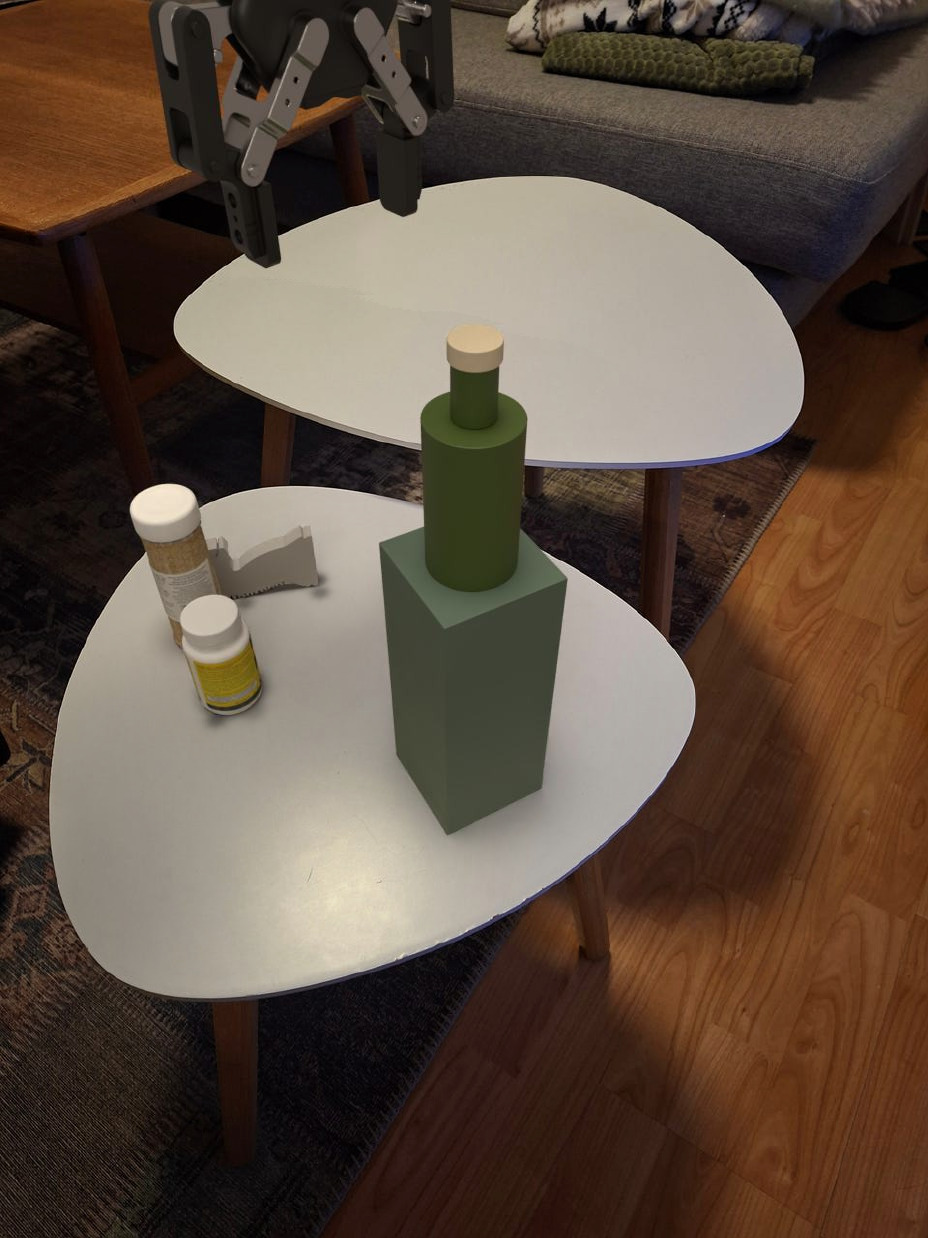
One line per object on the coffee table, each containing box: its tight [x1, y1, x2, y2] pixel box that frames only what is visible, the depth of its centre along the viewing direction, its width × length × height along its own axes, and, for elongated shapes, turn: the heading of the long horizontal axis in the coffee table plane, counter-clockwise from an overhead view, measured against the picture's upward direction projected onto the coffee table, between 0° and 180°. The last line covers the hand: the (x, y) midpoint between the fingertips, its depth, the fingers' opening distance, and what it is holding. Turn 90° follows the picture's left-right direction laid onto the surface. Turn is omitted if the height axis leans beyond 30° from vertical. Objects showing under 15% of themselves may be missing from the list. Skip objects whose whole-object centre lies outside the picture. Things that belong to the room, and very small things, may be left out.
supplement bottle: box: [180, 595, 263, 716], centre depth 64 cm, size 5×5×8 cm
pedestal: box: [378, 526, 569, 836], centre depth 55 cm, size 8×8×20 cm
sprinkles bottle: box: [129, 483, 221, 649], centre depth 66 cm, size 5×5×14 cm
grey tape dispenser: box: [205, 524, 320, 600], centre depth 73 cm, size 6×1×10 cm
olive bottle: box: [419, 323, 528, 592], centre depth 43 cm, size 5×5×13 cm
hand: (333, 235), depth 44 cm, fingers open, 8 cm apart
